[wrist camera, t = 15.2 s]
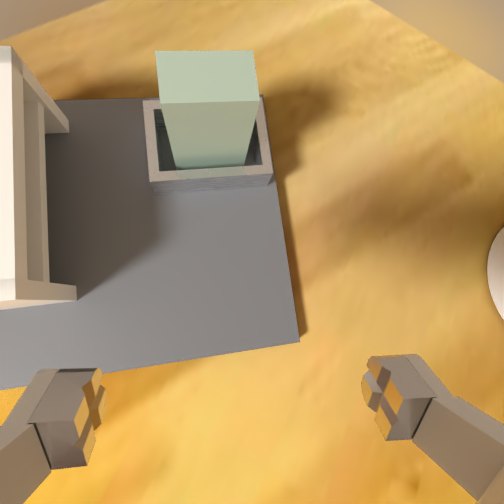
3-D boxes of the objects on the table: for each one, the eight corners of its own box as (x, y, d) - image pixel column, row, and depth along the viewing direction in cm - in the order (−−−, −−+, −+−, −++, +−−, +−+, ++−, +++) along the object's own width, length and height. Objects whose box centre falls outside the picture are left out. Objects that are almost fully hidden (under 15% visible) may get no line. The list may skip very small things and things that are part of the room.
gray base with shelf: (260, 102, 31) (281, 21, 22) (296, 340, 28) (337, 358, 19) (2, 110, 28) (-98, 17, 19) (5, 386, 24) (-116, 436, 15)
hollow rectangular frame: (256, 117, 30) (261, 97, 27) (266, 186, 29) (273, 172, 26) (149, 121, 28) (142, 100, 25) (156, 194, 27) (149, 181, 24)
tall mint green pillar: (236, 125, 29) (250, 36, 19) (242, 169, 28) (260, 100, 19) (173, 128, 28) (153, 36, 18) (177, 174, 28) (160, 103, 18)
